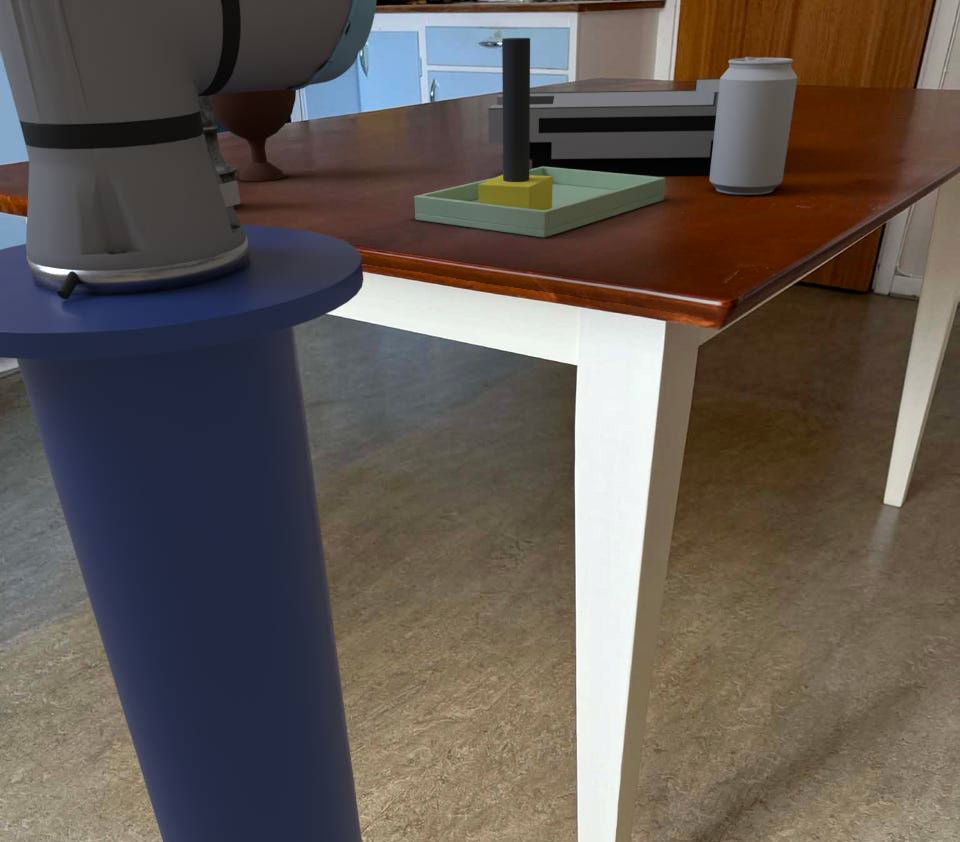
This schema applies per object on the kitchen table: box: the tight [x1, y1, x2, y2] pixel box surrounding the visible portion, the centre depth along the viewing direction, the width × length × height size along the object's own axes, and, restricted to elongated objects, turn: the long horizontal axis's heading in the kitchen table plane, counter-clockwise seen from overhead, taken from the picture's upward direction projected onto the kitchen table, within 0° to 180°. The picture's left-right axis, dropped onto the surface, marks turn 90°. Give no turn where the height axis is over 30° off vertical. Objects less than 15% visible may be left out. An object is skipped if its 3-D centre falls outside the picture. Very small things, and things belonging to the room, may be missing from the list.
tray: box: [413, 167, 666, 239], centre depth 93 cm, size 21×15×2 cm
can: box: [708, 56, 798, 196], centre depth 96 cm, size 8×8×12 cm
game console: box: [487, 77, 720, 176], centre depth 115 cm, size 21×32×8 cm, turn 85°
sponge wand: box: [479, 37, 553, 210], centre depth 84 cm, size 6×5×14 cm
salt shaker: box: [198, 96, 241, 210], centre depth 95 cm, size 6×6×12 cm
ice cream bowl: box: [210, 89, 297, 182], centre depth 110 cm, size 11×11×15 cm
